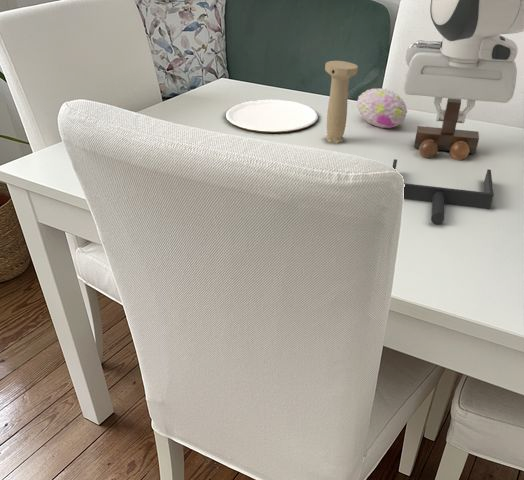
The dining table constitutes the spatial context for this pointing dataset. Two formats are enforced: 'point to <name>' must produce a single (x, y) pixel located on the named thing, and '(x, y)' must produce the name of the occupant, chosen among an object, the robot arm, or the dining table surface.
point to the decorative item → (381, 108)
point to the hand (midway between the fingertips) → (450, 121)
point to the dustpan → (449, 196)
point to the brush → (448, 130)
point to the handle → (338, 98)
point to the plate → (271, 116)
